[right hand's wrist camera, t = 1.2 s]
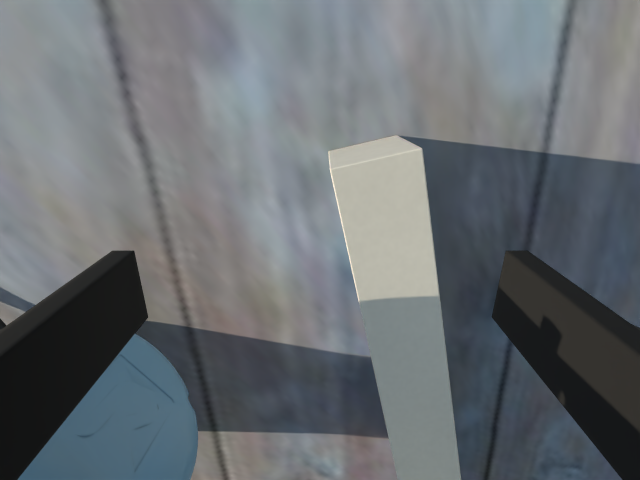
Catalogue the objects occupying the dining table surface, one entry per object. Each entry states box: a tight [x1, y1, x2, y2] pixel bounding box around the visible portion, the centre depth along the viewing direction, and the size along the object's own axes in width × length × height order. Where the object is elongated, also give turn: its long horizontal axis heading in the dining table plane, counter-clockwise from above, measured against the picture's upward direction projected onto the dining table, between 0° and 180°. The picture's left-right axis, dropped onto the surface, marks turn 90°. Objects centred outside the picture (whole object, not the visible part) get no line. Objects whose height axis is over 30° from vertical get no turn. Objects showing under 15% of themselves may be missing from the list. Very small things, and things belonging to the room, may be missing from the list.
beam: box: [328, 135, 461, 480], centre depth 34 cm, size 54×6×8 cm, turn 13°
